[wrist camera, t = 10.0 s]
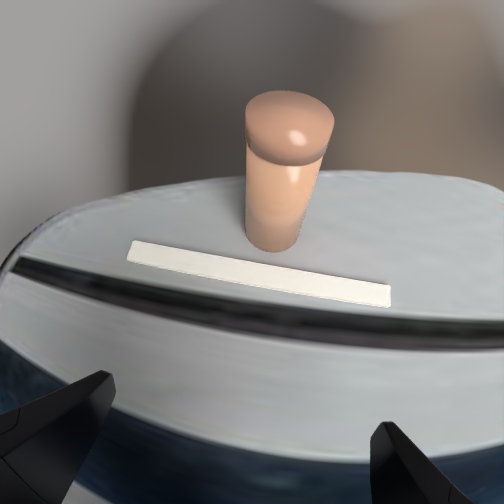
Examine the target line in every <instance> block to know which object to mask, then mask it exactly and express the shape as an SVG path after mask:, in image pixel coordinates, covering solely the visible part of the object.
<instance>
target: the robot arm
mask: <svg viewBox="0 0 504 504" xmlns="http://www.w3.org/2000/svg"><path fill="white" fill-rule="evenodd" d="M115 394H116V389H115V384H114V379H113V375H112V374H111V373H108V372H106V371H103V370H100V371H98V372H96V373H94V374H91V375H89V376H87V377H85V378H83V379H81V380H79V381H76V382H74V383H72V384H70V385H68V386H66V387H63V388H61V389H59V390H57V391H55V392H52V393H50V394H48V395H46V396H43V397H41V398H39V399H37V400H34V401H32V402H30V403H27V404H25V405H23V406H21V407H18V408H16V409H13V410H11V411H8V412H5V413H3V414H0V504H61V503H62V501H63V499H64V497H65V496H66V494H67V492H68V490H69V488H70V486H71V484H72V482H73V480H74V478H75V476H76V474H77V473H78V471H79V469H80V467H81V465H82V463H83V461H84V460H85V458H86V456H87V454H88V452H89V450H90V449H91V447H92V445H93V443H94V441H95V440H96V438H97V436H98V434H99V432H100V430H101V428H102V426H103V424H104V421H105V419H106V416H107V414H108V411H109V409H110V407H111V404H112V402H113V399H114V397H115ZM370 483H371V494H372V504H474V503H473V502H472V501H471V500H469V499H468V498H467V497H466V496H465V495H464V494H463V493H462V492H461V491H460V490H459V489H458V488H457V487H456V486H455V485H454V484H453V483H451V481H450V480H449V479H448V478H447V477H446V476H445V475H444V474H443V473H442V472H441V471H440V470H439V469H438V468H437V467H436V466H435V465H434V464H433V463H432V462H431V461H430V460H429V459H428V458H427V457H426V456H425V455H424V453H423V452H422V451H421V450H420V449H419V448H418V447H417V446H416V445H415V444H414V443H413V442H412V441H411V440H410V439H409V438H408V437H407V436H406V435H405V434H404V433H403V431H402V430H401V429H400V428H399V427H398V426H397V425H396V424H395V423H394V422H391V421H389V422H382V423H380V425H379V426H378V427H377V429H376V430H375V432H374V433H373V435H372V437H371V440H370Z"/></svg>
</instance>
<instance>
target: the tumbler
mask: <svg viewBox="0 0 504 504" xmlns="http://www.w3.org/2000/svg"><path fill="white" fill-rule="evenodd" d="M333 126H334V118H333V115H332V113H331V111H330V110H329V109H328V108H327V107H326V106H325V105H324V104H323V103H322V102H320V101H319V100H317V99H315V98H313V97H311V96H308V95H305V94H302V93H298V92H293V91H270V92H266V93H263V94H260V95H258V96H256V97H254V98H253V99H252V100H251V101H250V102H249V103H248V105H247V107H246V128H245V138H246V142H247V159H246V214H245V231H246V235H247V237H248V239H249V241H250V242H251V243H252V244H253V245H254V246H255V247H257V248H259V249H261V250H263V251H266V252H281V251H284V250H286V249H288V248H290V247H291V246H292V245H293V244H294V243H295V242H296V240H297V238H298V235H299V232H300V229H301V226H302V223H303V220H304V216H305V213H306V210H307V207H308V204H309V201H310V197H311V194H312V191H313V188H314V184H315V181H316V178H317V175H318V171H319V168H320V165H321V161H322V158H323V155H324V154H325V152H326V150H327V147H328V143H329V139H330V136H331V133H332V130H333Z"/></svg>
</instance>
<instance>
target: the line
mask: <svg viewBox="0 0 504 504" xmlns="http://www.w3.org/2000/svg"><path fill="white" fill-rule="evenodd" d="M127 261H130V262H134V263H139V264H144V265H148V266H153V267H158V268H162V269H167V270H172V271H177V272H182V273H187V274H192V275H197V276H202V277H207V278H212V279H217V280H222V281H228V282H233V283H238V284H244V285H249V286H255V287H260V288H266V289H271V290H277V291H283V292H289V293H295V294H301V295H307V296H313V297H319V298H325V299H332V300H338V301H345V302H351V303H358V304H365V305H372V306H379V307H386V308H389V307H390V286H389V285H383V284H377V283H371V282H365V281H359V280H353V279H347V278H341V277H335V276H330V275H324V274H318V273H312V272H306V271H301V270H295V269H289V268H283V267H278V266H272V265H266V264H261V263H255V262H249V261H244V260H238V259H233V258H227V257H222V256H216V255H211V254H205V253H200V252H194V251H189V250H183V249H178V248H173V247H167V246H162V245H156V244H151V243H146V242H140V241H135V240H133V243H132V245H131V248H130V251H129V253H128V256H127Z"/></svg>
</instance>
